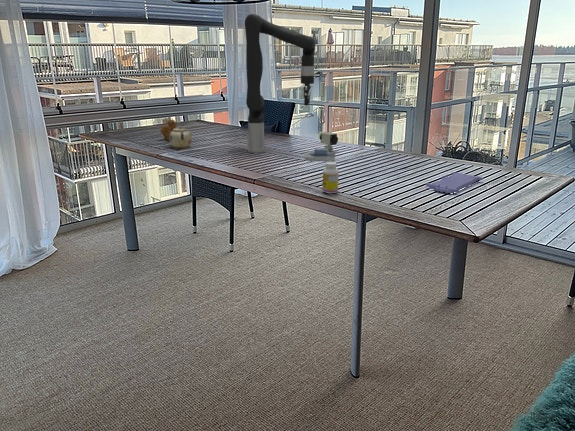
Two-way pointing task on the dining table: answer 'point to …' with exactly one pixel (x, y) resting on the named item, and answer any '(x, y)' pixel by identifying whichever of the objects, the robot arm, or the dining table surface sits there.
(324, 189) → the supplement bottle
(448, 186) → the computer part
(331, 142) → the pneumatic valve
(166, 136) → the stuffed squirrel
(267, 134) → the dining table surface
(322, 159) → the plate
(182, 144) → the teapot
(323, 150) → the block
